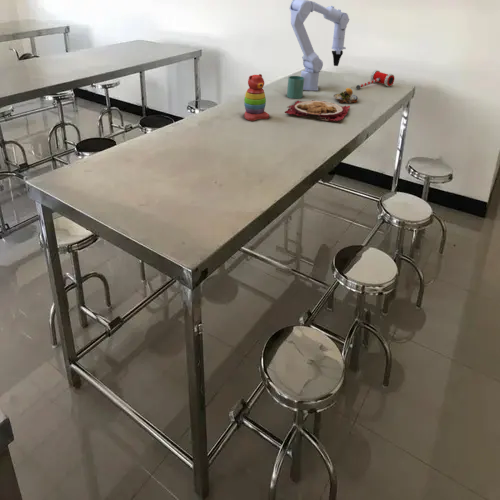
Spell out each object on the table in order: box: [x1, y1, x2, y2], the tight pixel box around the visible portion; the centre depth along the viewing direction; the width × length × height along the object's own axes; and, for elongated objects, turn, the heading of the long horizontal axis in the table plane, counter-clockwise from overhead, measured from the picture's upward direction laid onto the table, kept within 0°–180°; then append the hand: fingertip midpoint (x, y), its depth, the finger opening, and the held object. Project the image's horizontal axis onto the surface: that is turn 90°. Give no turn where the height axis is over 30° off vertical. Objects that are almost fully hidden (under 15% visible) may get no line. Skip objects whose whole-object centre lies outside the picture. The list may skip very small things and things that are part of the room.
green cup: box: [286, 75, 304, 100], centre depth 240 cm, size 8×8×9 cm
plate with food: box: [284, 99, 351, 123], centre depth 222 cm, size 24×26×4 cm
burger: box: [333, 87, 358, 104], centre depth 237 cm, size 12×12×8 cm
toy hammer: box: [355, 69, 395, 90], centre depth 261 cm, size 23×12×6 cm, turn 127°
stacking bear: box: [243, 73, 270, 122], centre depth 209 cm, size 11×10×18 cm
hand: (335, 65), depth 255 cm, fingers closed
